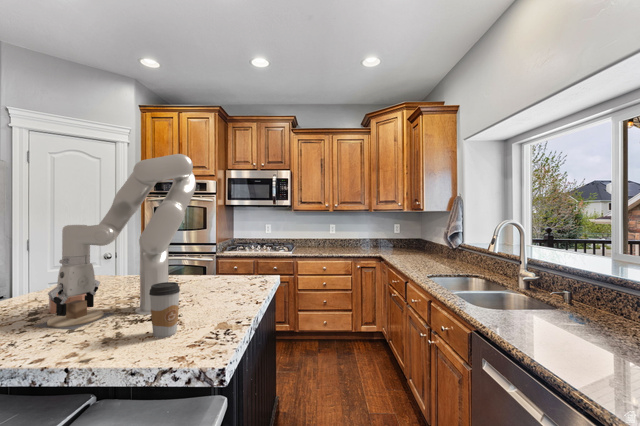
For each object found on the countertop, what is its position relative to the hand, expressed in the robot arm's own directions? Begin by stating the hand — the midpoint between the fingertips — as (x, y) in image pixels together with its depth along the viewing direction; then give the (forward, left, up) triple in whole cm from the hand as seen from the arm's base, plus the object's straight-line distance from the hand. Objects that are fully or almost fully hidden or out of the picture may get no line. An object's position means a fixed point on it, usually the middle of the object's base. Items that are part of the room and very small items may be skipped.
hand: (75, 311), depth 105 cm
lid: (0, 0, -3) cm, 3 cm away
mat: (0, 0, -4) cm, 4 cm away
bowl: (+15, -11, -4) cm, 19 cm away
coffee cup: (-38, +5, -4) cm, 39 cm away
